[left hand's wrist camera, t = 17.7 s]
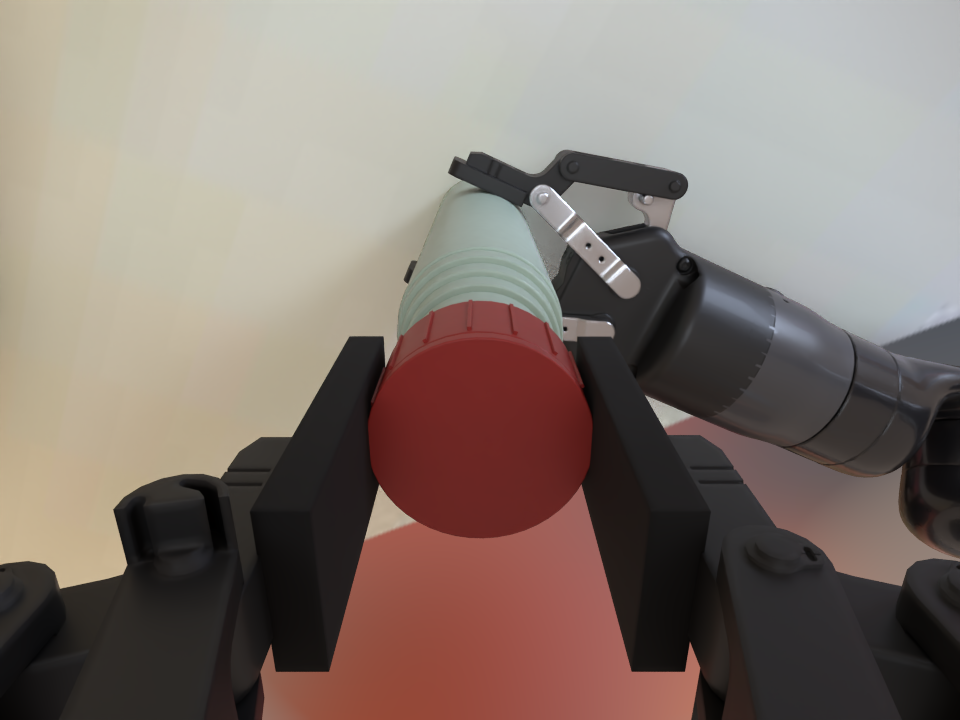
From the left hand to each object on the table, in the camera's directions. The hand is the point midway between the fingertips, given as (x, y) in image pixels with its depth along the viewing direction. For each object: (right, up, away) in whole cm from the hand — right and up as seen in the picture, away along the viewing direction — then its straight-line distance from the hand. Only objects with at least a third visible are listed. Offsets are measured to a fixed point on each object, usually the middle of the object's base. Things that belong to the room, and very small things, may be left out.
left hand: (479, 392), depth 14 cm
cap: (0, -1, -2) cm, 2 cm away
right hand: (-2, +8, +16) cm, 18 cm away
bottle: (0, +9, +22) cm, 24 cm away
